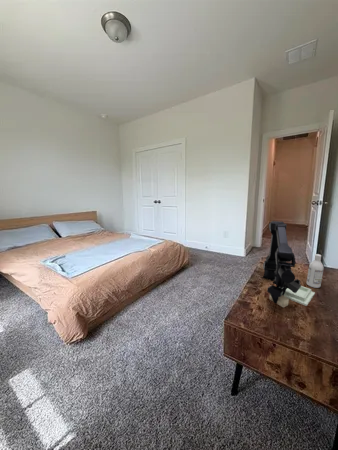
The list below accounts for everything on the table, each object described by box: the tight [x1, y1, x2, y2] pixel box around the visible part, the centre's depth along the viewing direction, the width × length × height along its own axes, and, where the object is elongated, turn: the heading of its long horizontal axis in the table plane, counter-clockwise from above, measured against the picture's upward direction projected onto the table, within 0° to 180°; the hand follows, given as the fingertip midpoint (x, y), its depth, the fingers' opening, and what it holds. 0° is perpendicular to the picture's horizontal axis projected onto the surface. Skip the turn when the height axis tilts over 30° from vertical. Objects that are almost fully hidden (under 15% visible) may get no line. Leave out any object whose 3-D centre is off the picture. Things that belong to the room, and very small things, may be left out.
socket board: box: [284, 285, 316, 307], centre depth 109 cm, size 16×16×3 cm
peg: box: [268, 294, 290, 308], centre depth 101 cm, size 8×4×4 cm, turn 27°
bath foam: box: [306, 253, 324, 289], centre depth 115 cm, size 7×7×20 cm
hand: (278, 299), depth 101 cm, fingers open, 9 cm apart
